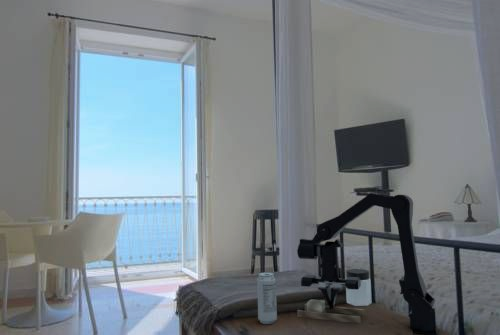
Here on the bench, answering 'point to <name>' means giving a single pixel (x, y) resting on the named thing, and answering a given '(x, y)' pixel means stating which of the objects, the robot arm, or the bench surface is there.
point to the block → (316, 305)
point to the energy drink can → (267, 298)
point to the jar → (364, 292)
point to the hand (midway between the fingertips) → (331, 308)
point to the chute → (333, 316)
